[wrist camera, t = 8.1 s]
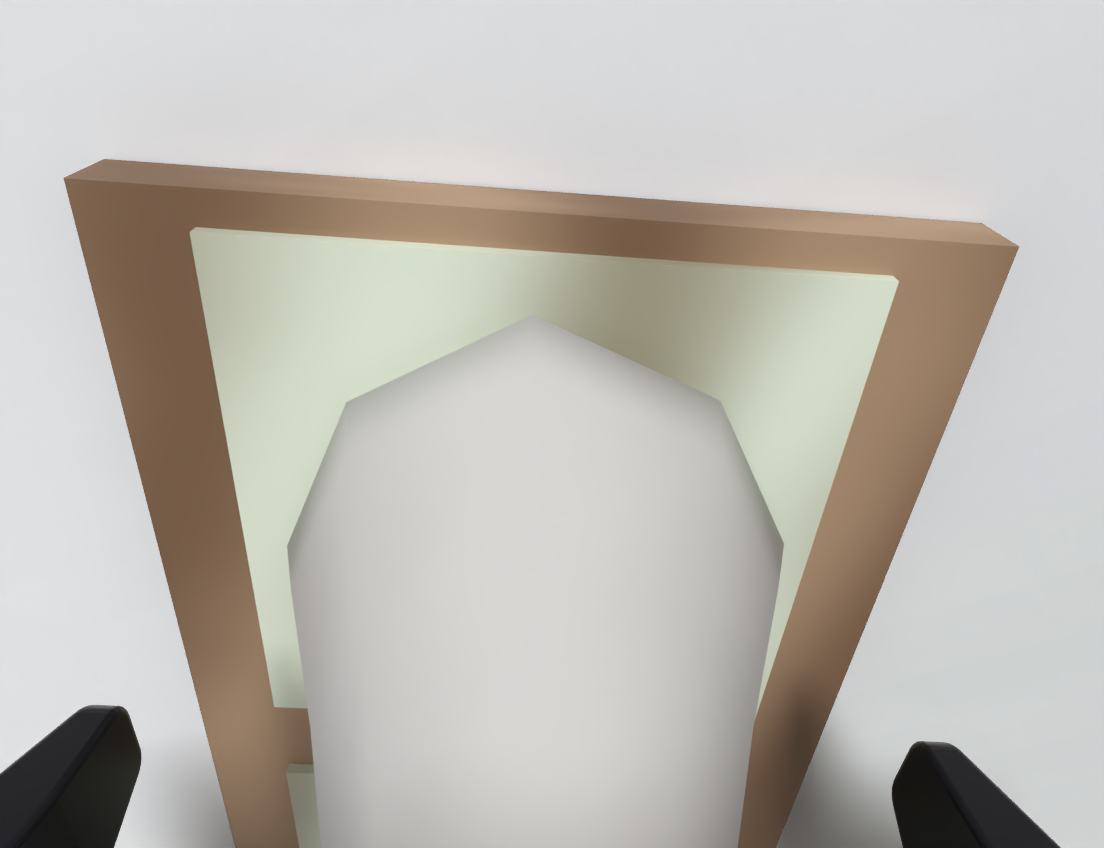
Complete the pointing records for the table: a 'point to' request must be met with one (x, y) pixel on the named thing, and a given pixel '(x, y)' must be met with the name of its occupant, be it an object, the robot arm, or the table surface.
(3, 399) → the table surface
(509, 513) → the flask
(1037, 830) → the robot arm
